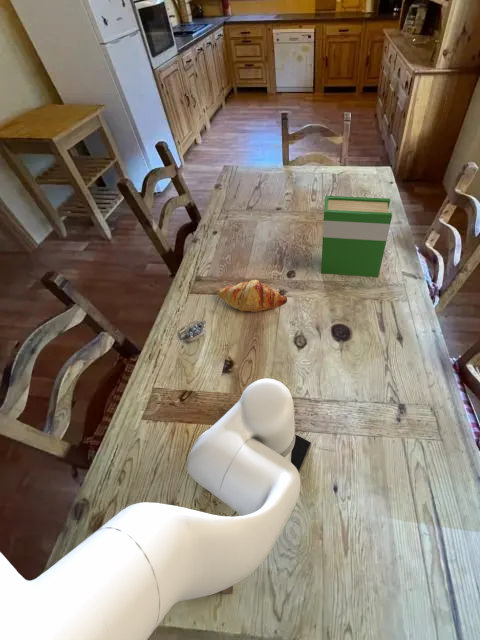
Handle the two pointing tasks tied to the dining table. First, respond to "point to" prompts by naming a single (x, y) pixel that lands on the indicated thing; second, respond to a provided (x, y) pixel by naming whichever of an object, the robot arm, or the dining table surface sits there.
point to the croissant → (251, 296)
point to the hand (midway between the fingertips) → (277, 465)
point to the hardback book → (354, 235)
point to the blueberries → (193, 331)
